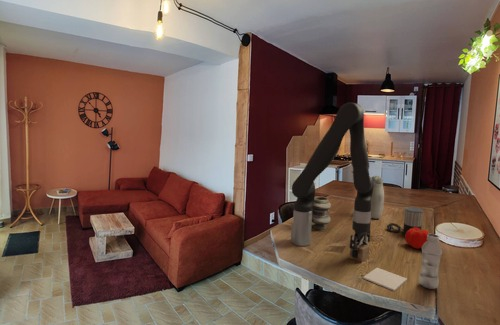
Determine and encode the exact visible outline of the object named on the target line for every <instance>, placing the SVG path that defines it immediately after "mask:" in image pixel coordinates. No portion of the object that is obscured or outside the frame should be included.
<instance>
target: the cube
mask: <svg viewBox="0 0 500 325" xmlns="http://www.w3.org/2000/svg"><path fill="white" fill-rule="evenodd" d="M357 243H358V242H357ZM352 245H353V244H352ZM356 247H357V245H356ZM352 250H353V249H351V248H350V247H349V258H350V259H352V260H354V261H356V262H359V263H364V262H366V261H367V260H369V257H370V245H369V244H368V245H365V244H362V243H361V245H360V246H359V248H358V257H357V258H354V257H352Z"/></svg>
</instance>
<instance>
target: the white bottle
mask: <svg viewBox="0 0 500 325" xmlns="http://www.w3.org/2000/svg"><path fill="white" fill-rule="evenodd" d="M371 178H372V179H373V182H374V188H373V194H372V199H371V219H376V220H378V219H379V218H381V217H382V214H383V213H384V203H385V192H384V191H385V190H384V179H383V177H381V176H379V175H374V176H371Z"/></svg>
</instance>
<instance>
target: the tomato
mask: <svg viewBox="0 0 500 325" xmlns="http://www.w3.org/2000/svg"><path fill="white" fill-rule="evenodd" d="M428 234H430V233H429V231H428V230H426V229H421V230H420V229H419V228H417V227H414V228H413V229H409V230H408V231H407V233H406V235H404V238H405V242H406V244H408V245H409V246H410V247H411V248H414V249H416V250H418V249H421V250H422V246H423V244H424V243H425V242H426V241H427V235H428Z"/></svg>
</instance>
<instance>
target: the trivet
mask: <svg viewBox="0 0 500 325" xmlns="http://www.w3.org/2000/svg"><path fill="white" fill-rule="evenodd" d="M362 279H363V280H367V281H369V282H371V283H373V284H375V285H379V286H381V287H384V288H386V289H388V290H391V291H394V292H395V291H397V290H398V289H399V288H400V287H401V286H403V285H404V283H406V282H407V281H408V278H407V277H404V276H401V275H398V274H396V273H393V272H391V271H390V272H389V271H388V270H385V269H382V268H379V267H375V268H374V269H373V270H371V271H369V272H368V273H367V274H365V275H364V276H363V277H362Z"/></svg>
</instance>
